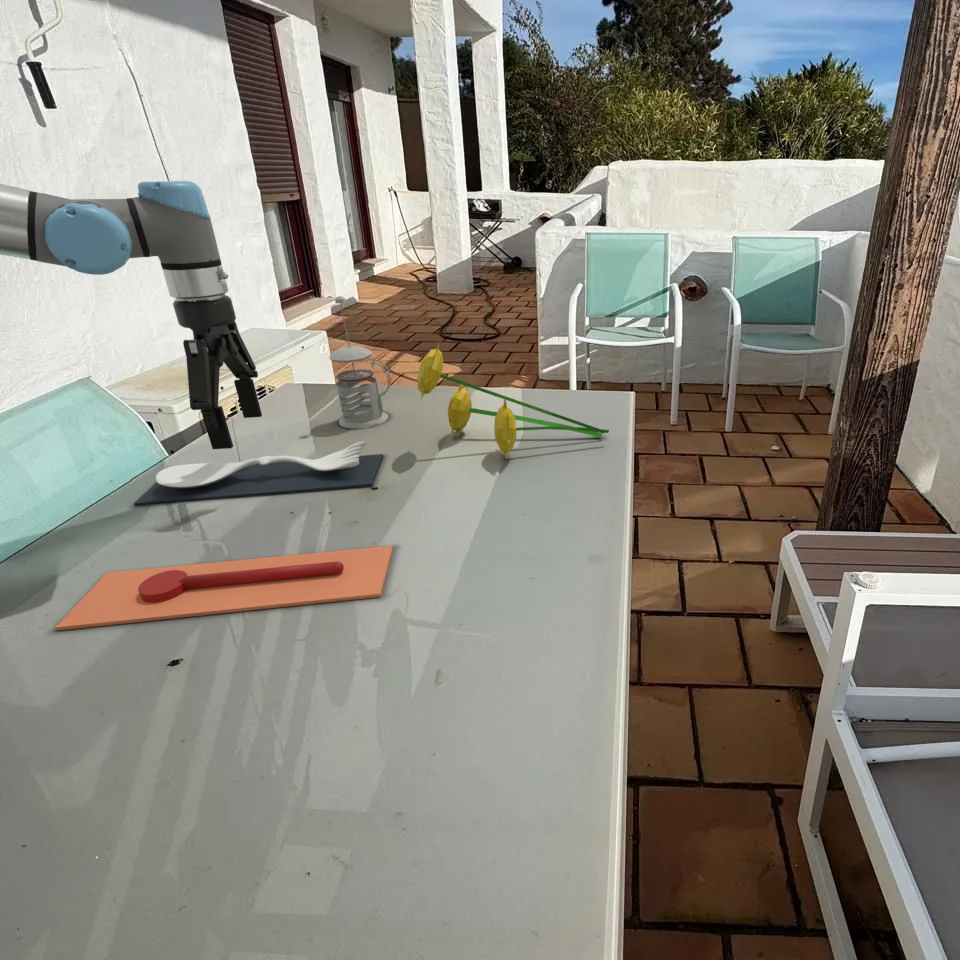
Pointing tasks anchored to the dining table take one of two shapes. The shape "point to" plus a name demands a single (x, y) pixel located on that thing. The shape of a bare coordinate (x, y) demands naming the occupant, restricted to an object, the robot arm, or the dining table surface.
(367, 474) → the slate mat
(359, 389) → the french press
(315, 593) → the terracotta mat
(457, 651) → the dining table surface
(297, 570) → the red spoon
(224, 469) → the white spork
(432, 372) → the flowers
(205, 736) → the dining table surface
